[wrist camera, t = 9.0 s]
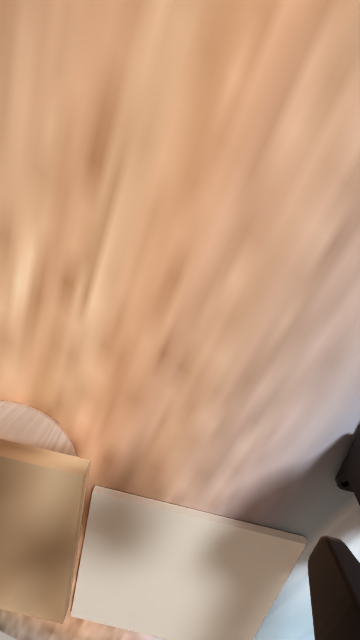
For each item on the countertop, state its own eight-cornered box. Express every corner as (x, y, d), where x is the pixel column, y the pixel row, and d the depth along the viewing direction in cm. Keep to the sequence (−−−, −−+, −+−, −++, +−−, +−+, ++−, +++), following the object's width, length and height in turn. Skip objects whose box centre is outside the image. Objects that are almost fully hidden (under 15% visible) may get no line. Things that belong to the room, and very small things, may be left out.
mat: (304, 536, 25) (306, 544, 25) (241, 649, 31) (242, 658, 31) (95, 485, 25) (92, 492, 24) (73, 608, 31) (70, 616, 31)
